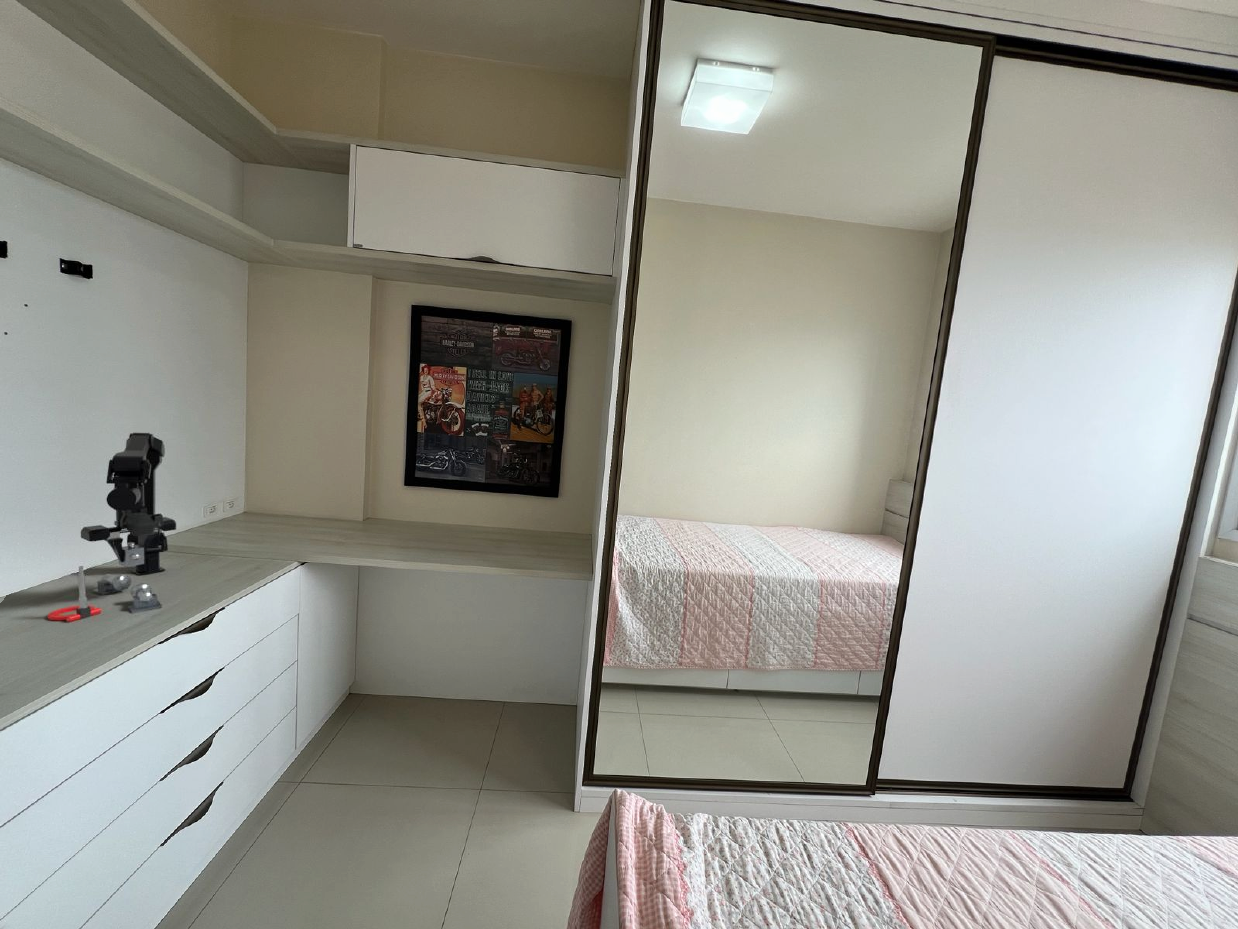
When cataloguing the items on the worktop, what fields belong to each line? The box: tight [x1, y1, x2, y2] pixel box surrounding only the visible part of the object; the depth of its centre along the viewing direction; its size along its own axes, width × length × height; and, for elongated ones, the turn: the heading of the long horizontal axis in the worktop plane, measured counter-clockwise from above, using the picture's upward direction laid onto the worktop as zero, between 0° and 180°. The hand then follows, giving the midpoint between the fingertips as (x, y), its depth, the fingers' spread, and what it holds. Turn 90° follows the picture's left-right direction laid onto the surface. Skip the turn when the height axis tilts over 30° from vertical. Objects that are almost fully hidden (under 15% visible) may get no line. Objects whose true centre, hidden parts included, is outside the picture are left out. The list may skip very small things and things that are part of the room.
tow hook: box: [47, 565, 102, 623], centre depth 141 cm, size 8×13×9 cm
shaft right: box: [128, 583, 163, 614], centre depth 149 cm, size 7×6×5 cm
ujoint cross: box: [118, 542, 144, 568], centre depth 153 cm, size 6×4×6 cm, turn 61°
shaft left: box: [91, 573, 132, 596], centre depth 157 cm, size 7×6×5 cm
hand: (131, 560), depth 153 cm, fingers closed on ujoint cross, 4 cm apart
